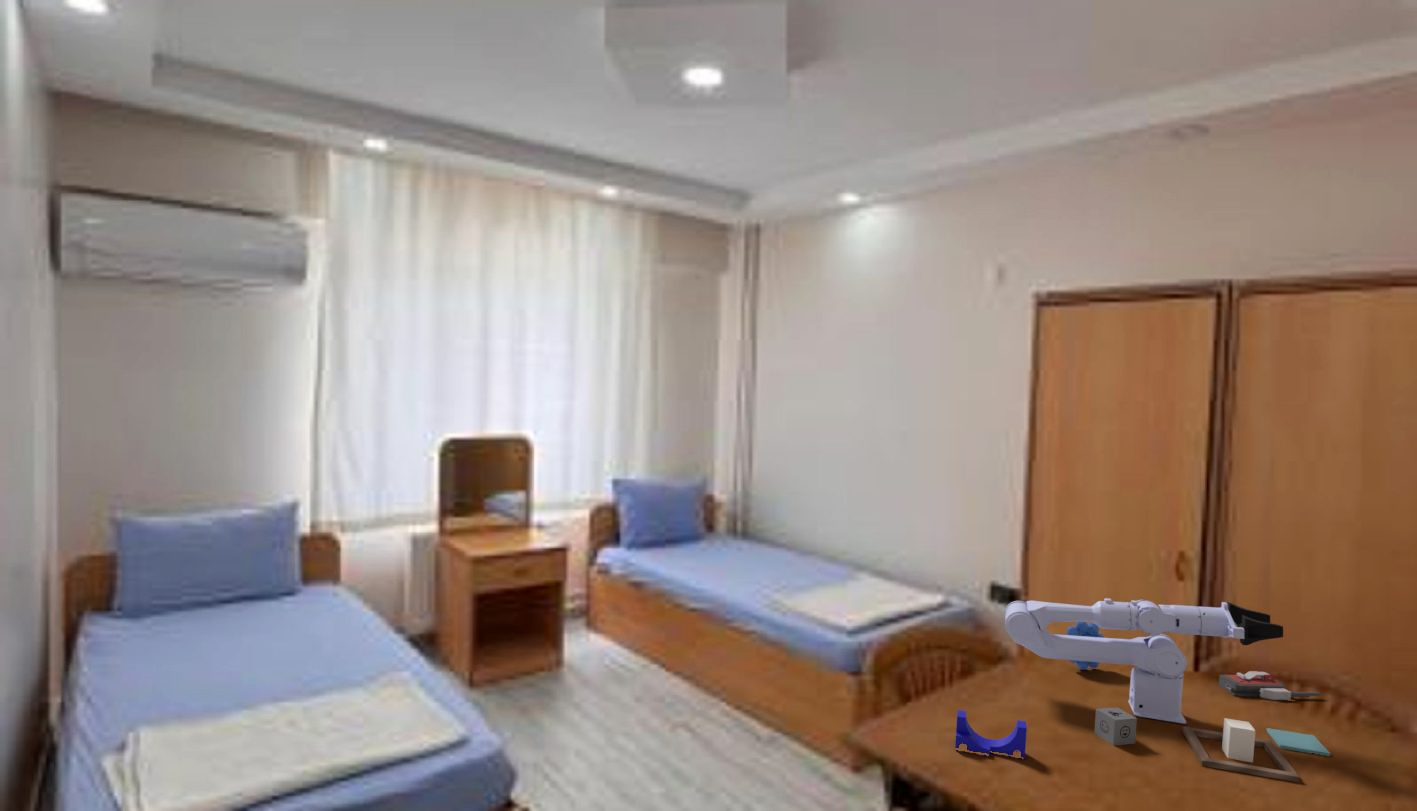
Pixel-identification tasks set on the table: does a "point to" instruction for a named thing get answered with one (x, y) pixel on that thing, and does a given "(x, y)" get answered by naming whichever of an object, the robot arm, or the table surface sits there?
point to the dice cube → (1115, 726)
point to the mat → (1298, 742)
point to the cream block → (1238, 740)
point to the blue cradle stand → (986, 745)
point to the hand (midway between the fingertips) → (1276, 625)
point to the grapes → (1087, 631)
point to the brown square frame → (1283, 774)
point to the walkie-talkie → (1259, 686)
